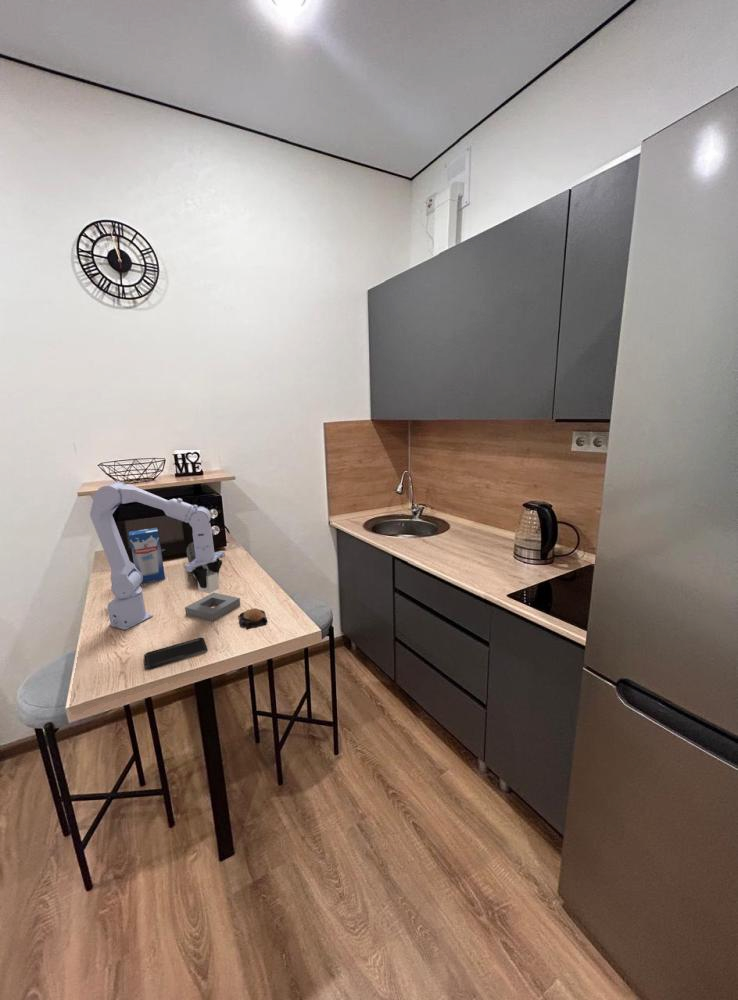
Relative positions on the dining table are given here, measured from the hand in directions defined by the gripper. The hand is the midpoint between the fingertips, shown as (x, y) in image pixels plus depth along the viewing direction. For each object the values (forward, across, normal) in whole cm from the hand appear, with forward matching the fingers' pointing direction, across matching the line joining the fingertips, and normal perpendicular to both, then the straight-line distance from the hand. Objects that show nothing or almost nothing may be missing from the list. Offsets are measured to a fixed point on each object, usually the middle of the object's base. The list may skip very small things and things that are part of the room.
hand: (209, 584), depth 132 cm
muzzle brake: (+9, +23, +30) cm, 39 cm away
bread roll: (+10, -1, -18) cm, 20 cm away
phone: (+9, -23, -11) cm, 27 cm away
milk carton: (+9, +10, +44) cm, 46 cm away
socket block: (+9, 0, -1) cm, 9 cm away
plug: (+2, 0, 0) cm, 2 cm away
